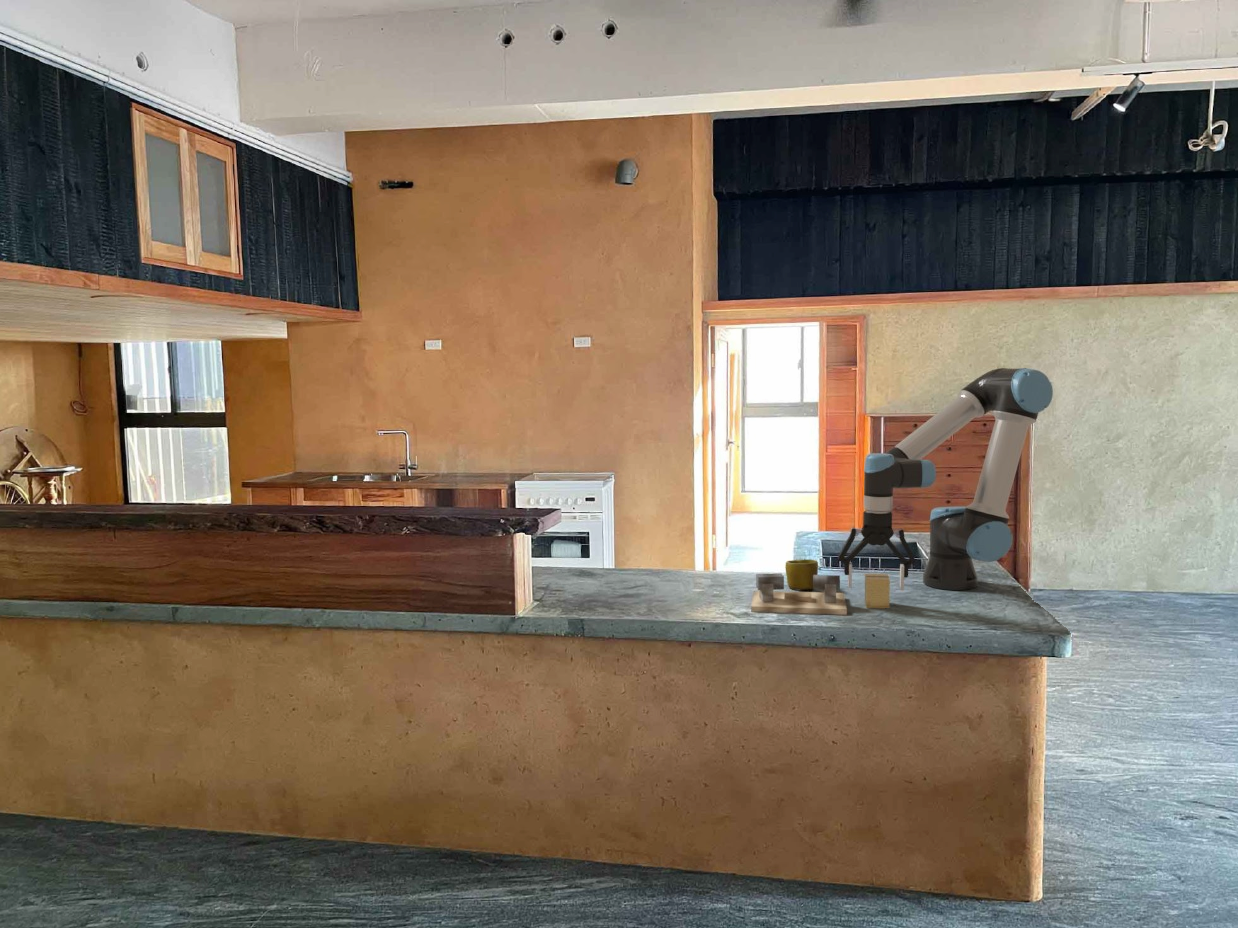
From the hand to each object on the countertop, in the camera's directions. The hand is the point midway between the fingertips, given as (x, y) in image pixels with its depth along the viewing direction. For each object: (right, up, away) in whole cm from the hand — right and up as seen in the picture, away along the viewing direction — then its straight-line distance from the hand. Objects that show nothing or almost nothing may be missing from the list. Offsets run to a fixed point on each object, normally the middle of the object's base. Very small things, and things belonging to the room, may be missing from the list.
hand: (875, 587), depth 244 cm
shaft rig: (-20, -5, +3) cm, 21 cm away
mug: (-16, -3, +22) cm, 27 cm away
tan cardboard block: (+1, -5, +1) cm, 5 cm away
